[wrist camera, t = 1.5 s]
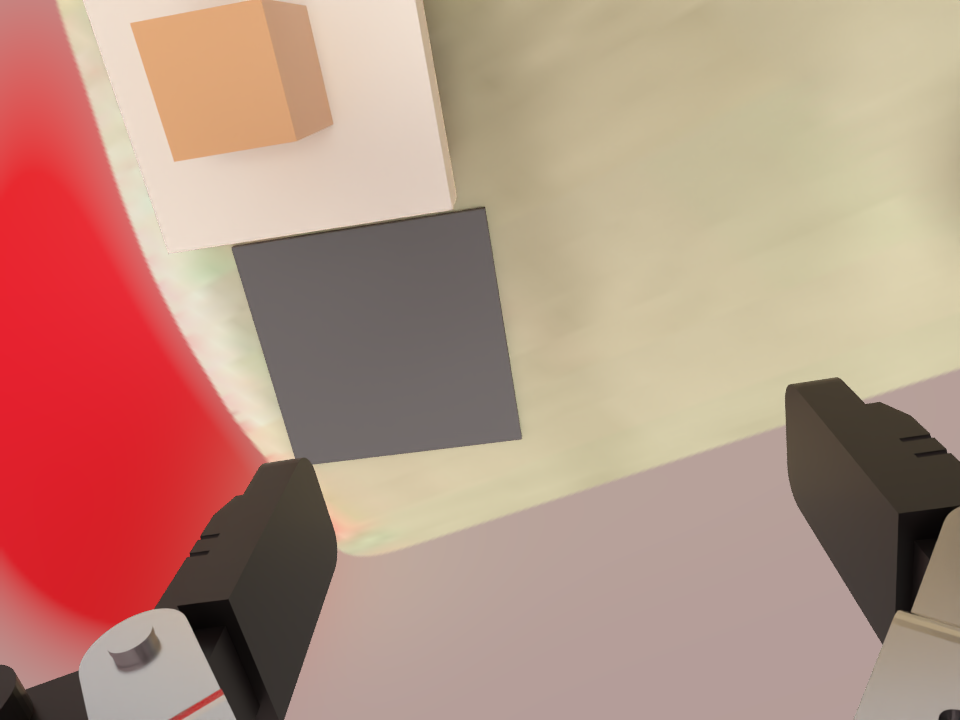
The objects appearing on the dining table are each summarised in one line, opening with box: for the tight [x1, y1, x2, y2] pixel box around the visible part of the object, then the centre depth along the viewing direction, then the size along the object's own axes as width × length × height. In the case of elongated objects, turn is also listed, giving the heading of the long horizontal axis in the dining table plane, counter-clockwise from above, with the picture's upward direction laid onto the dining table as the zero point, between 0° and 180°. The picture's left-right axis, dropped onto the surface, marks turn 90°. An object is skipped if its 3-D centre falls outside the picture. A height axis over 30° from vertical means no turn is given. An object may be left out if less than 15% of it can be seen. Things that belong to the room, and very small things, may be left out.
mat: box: [232, 207, 522, 464], centre depth 39 cm, size 13×13×1 cm
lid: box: [83, 0, 457, 254], centre depth 25 cm, size 12×12×8 cm
